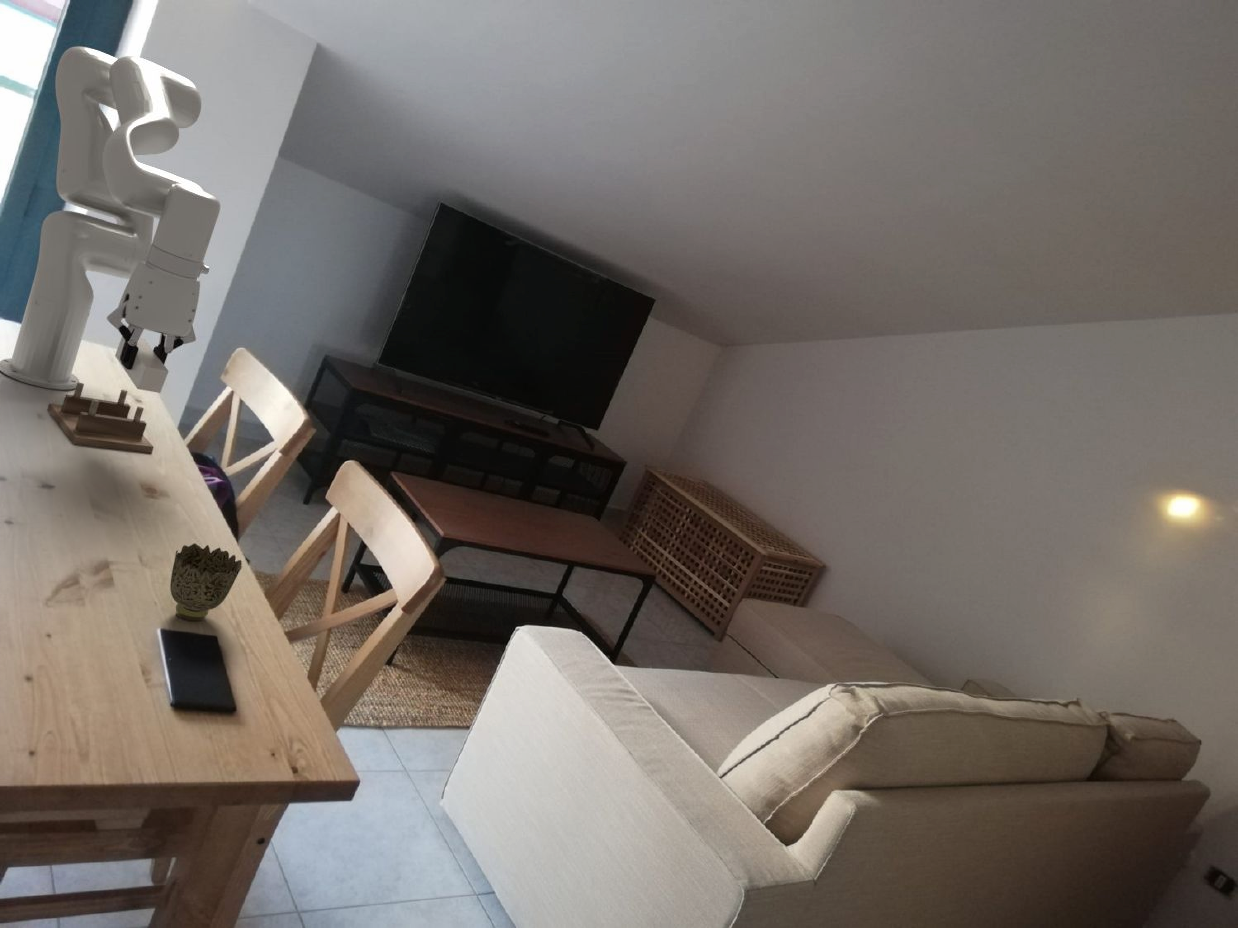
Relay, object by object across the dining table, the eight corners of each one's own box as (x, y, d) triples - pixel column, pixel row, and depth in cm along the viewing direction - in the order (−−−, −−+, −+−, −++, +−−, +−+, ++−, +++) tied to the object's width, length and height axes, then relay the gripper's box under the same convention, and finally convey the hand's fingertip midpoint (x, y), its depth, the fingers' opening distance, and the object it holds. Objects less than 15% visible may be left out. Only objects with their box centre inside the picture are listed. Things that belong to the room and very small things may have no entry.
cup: (178, 593, 108) (197, 537, 107) (233, 616, 108) (252, 560, 107) (143, 614, 101) (163, 553, 99) (202, 638, 101) (223, 578, 100)
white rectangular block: (114, 355, 143) (122, 334, 142) (137, 360, 145) (144, 339, 144) (137, 389, 136) (145, 366, 135) (160, 393, 138) (168, 371, 138)
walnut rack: (47, 409, 147) (58, 373, 146) (122, 420, 157) (132, 386, 156) (74, 444, 138) (85, 406, 137) (151, 453, 148) (163, 417, 147)
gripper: (215, 272, 146) (182, 371, 149) (110, 241, 133) (76, 350, 136) (233, 285, 141) (198, 387, 144) (126, 254, 128) (91, 367, 132)
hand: (140, 368), depth 140 cm, fingers closed on white rectangular block, 3 cm apart
